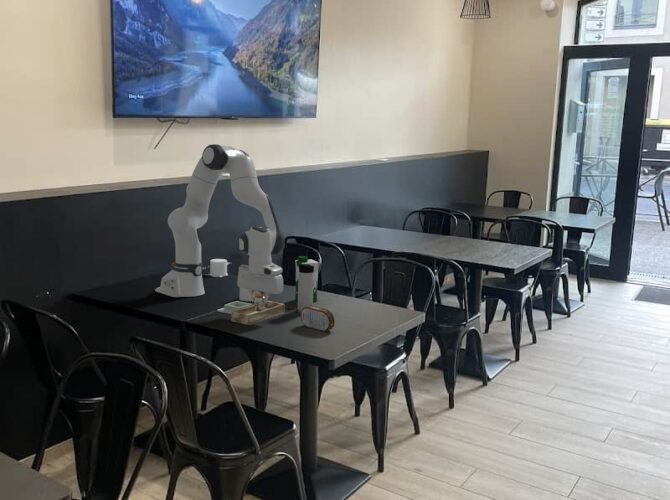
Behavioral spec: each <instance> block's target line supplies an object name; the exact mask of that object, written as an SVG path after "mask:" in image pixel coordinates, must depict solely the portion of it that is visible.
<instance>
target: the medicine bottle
mask: <svg viewBox="0 0 670 500" xmlns="http://www.w3.org/2000/svg"><path fill="white" fill-rule="evenodd" d="M254 293H255V291H254ZM239 301H240V302H251V301H252V300H251V295H250V293H249V289H245V288H240V287H239ZM253 302H254V303H255V301H252V303H253Z"/></svg>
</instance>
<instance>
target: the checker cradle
mask: <svg viewBox="0 0 670 500" xmlns="http://www.w3.org/2000/svg"><path fill="white" fill-rule="evenodd" d="M252 305H253V303H249V302H246V301H240V300H235V301H232V302H229V303H226V304H224V305H223V306H224V307H222V308H219V309H217V310H216V312H219V313H224V314H229V315H231V312H234V311H237V310H240V309H243V308H246V307H249V306H252Z"/></svg>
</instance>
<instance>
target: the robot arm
mask: <svg viewBox="0 0 670 500" xmlns="http://www.w3.org/2000/svg"><path fill="white" fill-rule="evenodd" d="M222 174H229V180H230V188H231V192H232V195H233V198H234V199H236V200H237V202H240V203H242V204H243V205H246V206H250V207H252V208H254V209H256V210H258V211H259V212H260V213H261V215H262V218H263V221H264V224H265V225H263V224H255V225H252V226H251V227H250V230H247V231H244V232H242V233H240V235H239V237H238V251H240V253H242V254H243V255H246V256H249V258H248V265H247V264H241V265H239V266H238V274H237V282H236V284H237V287H238V288H239V289H240V288H245V289H249V293H250V295H251V300H252V301H255V297H254V295H255V293H254V291H255V290H256V291H261V292H265V298H262V300H263V301H262V302H263V303H268V301H269V298H270V296H271V294H274V295H280V294H282V293H283V292H284V278H283V275H282V273H283V267H281V266H280V265H277V264H276V263H274V262H272V260H273V259H272V256H277V255H279V254H280V253H281V252H282V251H283V250H284V249H285V241H286V240H285V238H284V235H283V232H282V231H281V229H280V226H279V223H278V221H277V217H276V213H275V210H274V208H273V204H272V202H271V199H270V197H269V195H268V194H267V193H266V192H264V191H263V190H262V188H261V186H260V184H259V180H258V175H257V174H258V173H257V170H256V167H255V163H254V160H253V158H252V157H250V155H249V154H248V153H247V152H245V151H244V150H242V149H237V148H235V147H232V146H226V145H220V144H209V145H207V146H206V147H204V150H203V151H202V155H201V157H200V158H199V160H198V161H197V163H196V165H195V167H194V170H193V172H192V175H191V177H190V179H189V182H188V184H187V186H186V190H185V192H186V198H185V202H184V204H183V206H181V207H178V208H175V209H174V210H173V211H172V212H170V214H169V215H168V217H167V224H168V225H167V226H168V227H169V229H170V230H171V232H172V235H173V239H174V245H175V261H174V262H171V263H170V264H171V265H170V266H171V267H172V269H171V270H170V271H168V273H166V274H165V275H164V276H163V277H162V278H161V279H160V280H161V281H160V286H159V287H156V288H155V289H154V290H155V291H154V292H156V293H159V294H163V295H165V296H169V297H172V298H181V297H182V298H183V297H184V298H185V297H187V298H188V297H189V298H190V297H198V296H202V295H204V294H206V292H205V288H204V281H203V274H202V271H203V261H202V244H201V241H200V240H199V237H198V231H197V229H200V228H202V227H203V226H204V225H205V224H206V223H207V222H208V218H209V214H208V213H209V207H210V202H211V199H212V196H213V194H214V192H215V189H216V186H217V185H218V184H217V183H218V182H219V180H220V176H221V175H222Z"/></svg>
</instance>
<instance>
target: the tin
mask: <svg viewBox="0 0 670 500" xmlns="http://www.w3.org/2000/svg"><path fill="white" fill-rule="evenodd" d="M300 321H301V322H302V324H303V325H304V326H305V327H306V328H310V329H313V330H315V331H320V332H328V331H330V330H332V329H334V327H335V322H336V321H335V317H334V315H333V313H332V312H331V311H330V310H329V309H327V308H323V307H321V306H316V305H314V304H313V305H308V306H306V307H304V308H303V309H302V310H301V312H300Z"/></svg>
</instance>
